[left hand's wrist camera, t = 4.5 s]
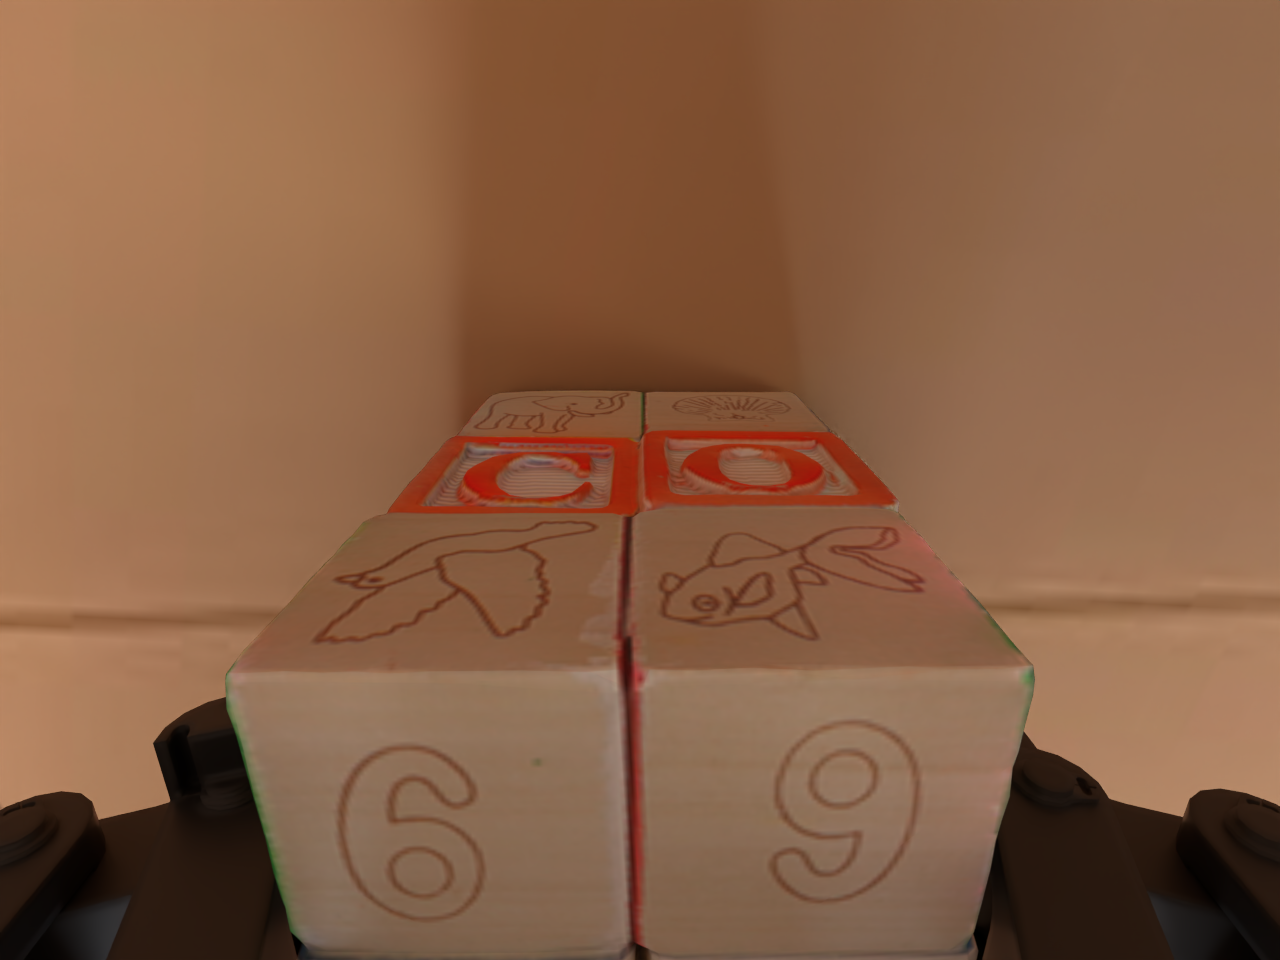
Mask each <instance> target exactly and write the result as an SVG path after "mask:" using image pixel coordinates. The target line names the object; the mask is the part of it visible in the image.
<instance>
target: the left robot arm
mask: <svg viewBox="0 0 1280 960" xmlns="http://www.w3.org/2000/svg"><path fill="white" fill-rule="evenodd" d="M153 745H154V748H155V751H156V754H157V758H158V761H159V764H160V767H161V771H162V774H163V777H164V780H165V784H166V787H167V790H168V793H169V797H170V802H169V803H166V804H163V805H159V806H156V807H152V808H147V809H143V810H139V811H134V812H130V813H126V814H122V815H117V816H113V817H109V818H104V819H100V820H98V817H97V814H96V812H95V809H94V806H93V803H92V801H90V800H89V799H88V798H86V797H85V796H84V795H83V794H81V793H72V792H62V791H61V792H55V793H50V794H44V795H38V796H34V797H32V798H29V799H26V800H23V801H21V802H17V803H15V804H13V805H10V806H7V807H5V808H4V809H2V810H0V960H296V959H297V956H298V953H299V950H300V947H301V944H302V942H301V941H300V940H299V939H298V938H297V937H296V936H295V935H294V934H293V933H291V932H290V928H289V923H288V918H287V913H286V908H285V906H284V903H283V901H282V898H281V895H280V892H279V889H278V886H277V882H276V879H275V876H274V872H273V868H272V864H271V860H270V856H269V851H268V847H267V843H266V839H265V835H264V832H263V828H262V825H261V821H260V818H259V814H258V811H257V808H256V804H255V801H254V797H253V794H252V790H251V787H250V783H249V779H248V776H247V772H246V769H245V765H244V761H243V758H242V754H241V750H240V747H239V743H238V740H237V736H236V733H235V731H234V728H233V725H232V722H231V720H230V717H229V714H228V712H227V706H226V697H225V698H221V699H218V700H214V701H210V702H207V703H205V704H203V705H201V706H199V707H197V708H195V709H192V710H190V711H188V712H186V713H184V714H183V715H181V716H180V717H179V718H177V719H176V720H175V721H173V722H172V723H171V724H169V725H168V726H167V727H165V728H164V730H163V731H162V732H161V734H160V735H159V736H158V737H157V739H156V740H155V741H154V743H153ZM973 934H974V938H975V941H976V945H977V948H978V955H977V960H1280V806H1278V805H1276V804H1274V803H1271V802H1269V801H1266V800H1264V799H1260V798H1258V797H1255V796H1252V795H1250V794H1247V793H1242V792H1236V791H1231V790H1225V789H1212V790H1202V791H1199V792H1198V793H1197V794H1196V795H1194V796H1193V797H1192V798H1190V800H1189V802H1188V805H1187V808H1186V811H1185V813H1184V816H1183V817H1180V816H1176V815H1171V814H1167V813H1163V812H1158V811H1154V810H1150V809H1146V808H1141V807H1137V806H1133V805H1128V804H1124V803H1121V802H1118V801H1114V800H1111V799H1109V798H1108V796H1107V795H1106V793H1105V792H1104V790H1103V789H1102V787H1101V786H1100V784H1099V783H1098V782H1097V781H1096V780H1095V779H1093V778H1092V777H1091V776H1090V775H1089V774H1088V773H1086V772H1085V771H1084V770H1083V769H1082V768H1080V767H1079V766H1077V765H1075V764H1073V763H1071V762H1069V761H1067V760H1066V759H1064V758H1062V757H1060V756H1058V755H1055V754H1052V753H1049V752H1045V751H1042V750H1039V749H1037V748H1036V747H1035V745H1034V744H1033V743H1032V742H1031V740H1030V739H1029V738H1028V736H1027V735H1026V734H1025V732H1024V731H1023V735H1022V740H1021V744H1020V748H1019V752H1018V755H1017V757H1016V760H1015V763H1014V765H1013V768H1012V778H1011V788H1010V797H1009V800H1008V803H1007V806H1006V809H1005V812H1004V815H1003V818H1002V821H1001V824H1000V828H999V831H998V835H997V838H996V842H995V847H994V853H993V858H992V863H991V868H990V873H989V877H988V880H987V884H986V888H985V892H984V896H983V900H982V904H981V908H980V912H979V915H978V919H977V923H976V926H975V930H974V933H973Z"/></svg>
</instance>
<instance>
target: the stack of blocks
mask: <svg viewBox="0 0 1280 960" xmlns="http://www.w3.org/2000/svg"><path fill="white" fill-rule="evenodd" d="M898 508H899V501H898V500H897V499H896V497H895V496H894V495H893V493H892V492H891V491H890V490H889V489H888V488H887V487H886V486H885V485H884V484H883V483H882V482H881V480H880V479H879V478H878V477H877V476H876V475H875V474H874V473H873V472H872V471H871V470H870V469H869V468H868V466H867V465H866V464H865V463H864V462H863V461H862V460H861V459H860V458H859V457H858V456H857V455H856V454H855V453H854V452H853V451H852V450H851V449H850V448H849V447H848V446H847V445H846V444H845V443H844V442H843V441H842V440H841V439H840V438H839V437H838V436H836V435H834V434H832V433H831V432H830V430H829V428H828V427H827V426H826V425H825V424H824V423H823V422H822V421H821V420H820V419H819V418H818V417H817V416H816V415H815V414H814V413H813V412H812V411H811V410H810V409H809V408H808V407H807V406H806V405H805V404H804V403H803V402H802V401H801V400H800V399H799V398H798V397H797V396H796V395H795V394H794V393H791V392H649V393H643V392H637V391H600V390H571V391H525V392H509V393H497V394H495V395H492V396H490V397H489V398H488V399H487V400H486V401H485V402H484V403H483V404H482V405H481V406H480V407H479V409H478V410H477V411H476V412H475V413H474V414H473V415H472V417H471V418H470V419H469V421H468V422H467V424H466V425H465V426H464V427H463V428H462V430H461V431H460V432H459V434H458V435H457V436H455V437H453V438H450V439H449V440H447V441H446V442H445V443H444V444H443V446H442V447H441V448H440V450H439V451H438V452H437V453H436V454H435V455H434V456H433V457H432V458H431V460H430V461H429V462H428V463H427V465H426V466H425V467H424V468H423V469H422V470H421V472H420V473H419V474H418V475H417V476H416V477H415V478H414V479H413V480H412V481H411V482H410V483H409V484H408V485H407V487H406V488H405V489H404V490H403V492H402V493H401V494H400V496H399V497H398V498H397V499H396V501H395V502H394V503H393V505H392V506H391V507H390V508H389V511H388V513H387V514H386V515H380V516H375V517H373V518H371V519H369V520H367V521H365V522H363V523H362V525H361V526H360V527H359V528H358V529H357V531H356V532H355V533H354V534H353V535H352V536H351V537H350V538H349V539H348V540H347V541H346V542H345V543H344V544H343V545H342V546H341V547H340V548H339V550H338V551H337V552H336V553H335V555H334V556H333V557H332V558H330V559H329V560H328V561H327V562H326V563H325V564H324V565H323V566H322V567H321V569H320V570H319V571H318V572H317V573H316V574H315V575H314V576H313V577H312V578H311V579H310V580H309V581H308V582H307V583H306V584H305V586H304V587H303V588H302V589H301V590H300V591H299V592H298V594H297V595H296V596H295V597H294V598H293V599H292V600H291V602H290V603H289V604H288V605H287V606H286V607H285V608H284V609H283V610H282V611H281V612H280V613H279V614H278V615H277V616H276V617H275V618H274V619H273V621H272V622H271V623H270V624H269V625H268V626H267V627H266V628H265V629H264V630H263V631H262V632H261V633H260V634H259V635H258V636H257V637H256V638H255V639H254V640H253V641H252V642H251V643H250V645H249V646H248V647H247V648H246V649H245V650H244V651H243V652H242V653H241V655H240V656H239V657H238V659H237V660H236V661H235V663H234V664H233V666H232V667H231V668H230V670H229V671H228V672H227V674H226V681H225V685H226V706H227V712H228V714H229V717H230V720H231V722H232V725H233V728H234V731H235V733H236V736H237V740H238V743H239V747H240V750H241V754H242V758H243V761H244V765H245V769H246V772H247V776H248V779H249V783H250V787H251V790H252V794H253V797H254V801H255V804H256V808H257V811H258V814H259V818H260V821H261V825H262V828H263V832H264V835H265V839H266V843H267V847H268V851H269V856H270V860H271V864H272V868H273V872H274V876H275V879H276V882H277V886H278V889H279V892H280V895H281V898H282V901H283V903H284V906H285V908H286V913H287V918H288V923H289V928H290V932H291V933H293V934H294V935H295V936H296V937H297V938H298V939H299V940H300V941H301V942H302V944H301V947H300V950H299V953H298V956H297V959H296V960H977V955H978V948H977V945H976V941H975V938H974V934H973V933H974V930H975V926H976V923H977V919H978V915H979V912H980V908H981V904H982V900H983V896H984V892H985V888H986V884H987V880H988V877H989V873H990V868H991V863H992V858H993V853H994V847H995V842H996V838H997V835H998V831H999V828H1000V824H1001V821H1002V818H1003V815H1004V812H1005V809H1006V806H1007V803H1008V800H1009V797H1010V788H1011V778H1012V768H1013V765H1014V763H1015V760H1016V757H1017V755H1018V752H1019V748H1020V744H1021V740H1022V735H1023V731H1024V727H1025V723H1026V719H1027V716H1028V712H1029V708H1030V704H1031V701H1032V697H1033V690H1034V682H1035V677H1034V669H1033V665H1032V664H1031V663H1030V661H1029V660H1028V659H1027V658H1026V657H1025V656H1024V655H1023V654H1022V653H1021V652H1020V651H1019V649H1018V648H1017V647H1016V646H1015V645H1014V644H1013V642H1012V641H1011V640H1010V639H1009V638H1008V636H1007V635H1006V634H1005V633H1004V632H1003V630H1002V629H1001V628H1000V627H999V625H998V624H997V623H996V622H995V621H994V619H993V618H992V617H991V616H990V614H989V613H988V612H987V611H986V610H985V608H984V607H983V606H982V605H981V604H980V603H979V601H978V600H977V599H976V598H975V597H974V596H973V595H972V594H971V593H970V591H969V590H968V589H967V588H966V587H965V586H964V585H963V584H962V583H961V582H960V581H959V579H958V578H957V577H956V576H955V575H954V574H953V573H952V572H951V571H950V570H949V569H948V568H947V567H946V565H945V564H944V563H943V562H942V561H941V560H940V559H939V558H938V557H937V556H936V554H935V553H934V552H933V551H932V549H931V548H930V547H929V545H928V544H927V543H926V542H925V540H924V539H923V538H922V537H921V536H920V535H919V534H918V533H917V532H916V531H915V530H914V529H913V528H912V527H911V526H910V525H909V524H908V523H907V522H906V521H905V520H904V518H903V517H902V516H901V515H900V514H899V513H898Z"/></svg>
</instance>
